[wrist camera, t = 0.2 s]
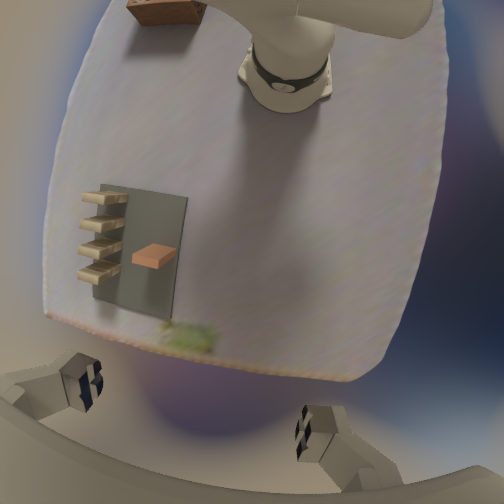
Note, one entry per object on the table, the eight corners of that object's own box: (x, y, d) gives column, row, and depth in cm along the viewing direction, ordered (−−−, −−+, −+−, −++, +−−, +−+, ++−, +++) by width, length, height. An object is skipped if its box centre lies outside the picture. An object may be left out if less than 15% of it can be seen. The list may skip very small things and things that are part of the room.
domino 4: (102, 259, 58) (77, 271, 48) (121, 264, 58) (97, 277, 48) (102, 266, 58) (77, 278, 48) (120, 271, 58) (97, 285, 48)
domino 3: (104, 237, 57) (78, 245, 47) (123, 241, 57) (99, 251, 47) (103, 244, 57) (78, 254, 47) (122, 248, 57) (98, 259, 47)
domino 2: (106, 214, 56) (80, 219, 46) (125, 218, 56) (101, 224, 46) (105, 221, 56) (79, 228, 46) (125, 225, 56) (100, 232, 46)
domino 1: (109, 191, 55) (83, 192, 45) (129, 194, 55) (104, 195, 45) (108, 198, 55) (82, 201, 45) (128, 201, 55) (103, 204, 45)
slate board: (103, 184, 55) (100, 184, 54) (188, 197, 55) (186, 197, 54) (94, 295, 61) (92, 296, 60) (171, 317, 61) (170, 319, 60)
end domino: (153, 243, 56) (132, 253, 47) (176, 248, 56) (158, 260, 47) (152, 251, 57) (131, 262, 47) (175, 256, 57) (157, 269, 47)
